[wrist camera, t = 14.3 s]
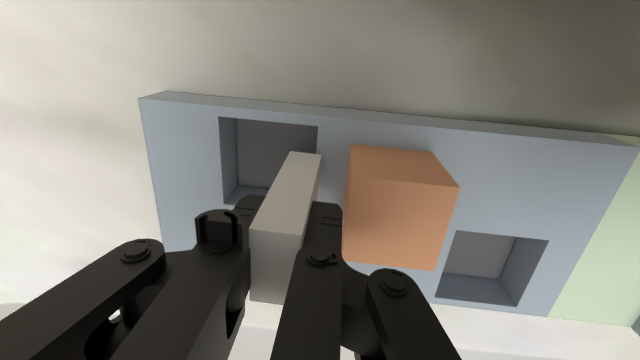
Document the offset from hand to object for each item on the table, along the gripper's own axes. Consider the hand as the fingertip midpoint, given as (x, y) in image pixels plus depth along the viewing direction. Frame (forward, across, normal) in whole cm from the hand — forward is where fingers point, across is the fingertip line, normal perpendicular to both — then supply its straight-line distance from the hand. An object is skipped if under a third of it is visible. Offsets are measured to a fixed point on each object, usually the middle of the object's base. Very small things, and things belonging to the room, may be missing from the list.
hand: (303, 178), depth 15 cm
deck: (+4, +6, -3) cm, 8 cm away
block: (+1, +4, 0) cm, 4 cm away
